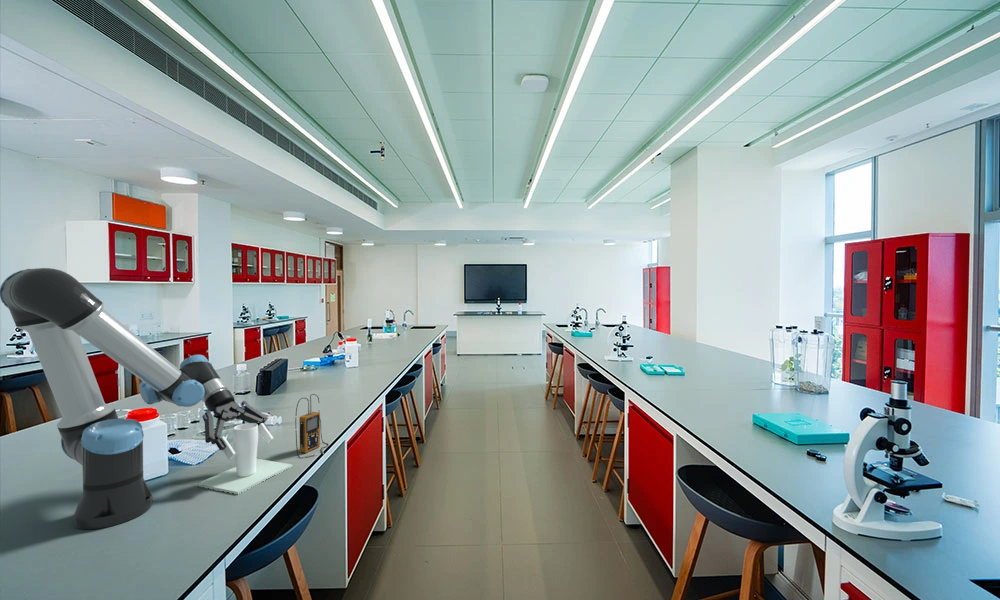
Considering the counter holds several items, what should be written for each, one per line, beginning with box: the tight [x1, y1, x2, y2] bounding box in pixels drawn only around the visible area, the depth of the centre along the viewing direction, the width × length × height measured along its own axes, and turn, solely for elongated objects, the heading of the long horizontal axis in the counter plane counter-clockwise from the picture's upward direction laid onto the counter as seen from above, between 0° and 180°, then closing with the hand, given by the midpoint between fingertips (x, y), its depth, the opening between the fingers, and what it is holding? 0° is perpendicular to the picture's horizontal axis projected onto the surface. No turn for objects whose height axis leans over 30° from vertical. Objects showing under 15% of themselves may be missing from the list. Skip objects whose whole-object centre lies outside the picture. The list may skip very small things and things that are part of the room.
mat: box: [196, 458, 293, 495], centre depth 133 cm, size 20×16×1 cm
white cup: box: [232, 422, 259, 477], centre depth 133 cm, size 7×7×15 cm
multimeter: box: [295, 393, 329, 459], centre depth 154 cm, size 15×10×20 cm
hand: (252, 448), depth 132 cm, fingers open, 13 cm apart
